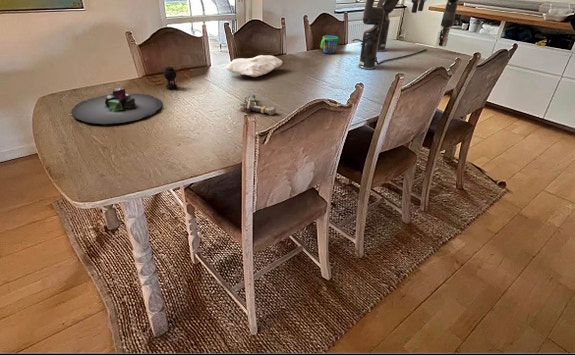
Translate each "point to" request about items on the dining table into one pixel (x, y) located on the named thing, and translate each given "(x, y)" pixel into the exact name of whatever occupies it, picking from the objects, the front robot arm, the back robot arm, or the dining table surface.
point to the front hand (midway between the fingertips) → (417, 11)
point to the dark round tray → (116, 108)
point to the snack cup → (329, 44)
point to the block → (443, 42)
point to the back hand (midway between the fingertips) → (441, 44)
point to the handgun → (255, 106)
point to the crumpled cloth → (254, 65)
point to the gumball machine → (170, 77)
